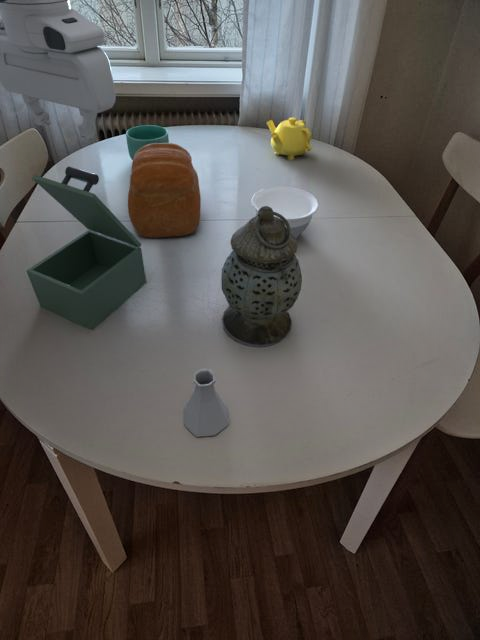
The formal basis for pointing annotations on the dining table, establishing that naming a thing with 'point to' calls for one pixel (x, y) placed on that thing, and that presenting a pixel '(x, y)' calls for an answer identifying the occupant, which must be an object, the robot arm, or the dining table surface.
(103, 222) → the chest lid
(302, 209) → the bowl
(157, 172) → the bread
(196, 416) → the flask
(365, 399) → the dining table surface
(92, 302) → the chest
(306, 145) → the teapot
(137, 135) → the mug
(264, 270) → the lantern
